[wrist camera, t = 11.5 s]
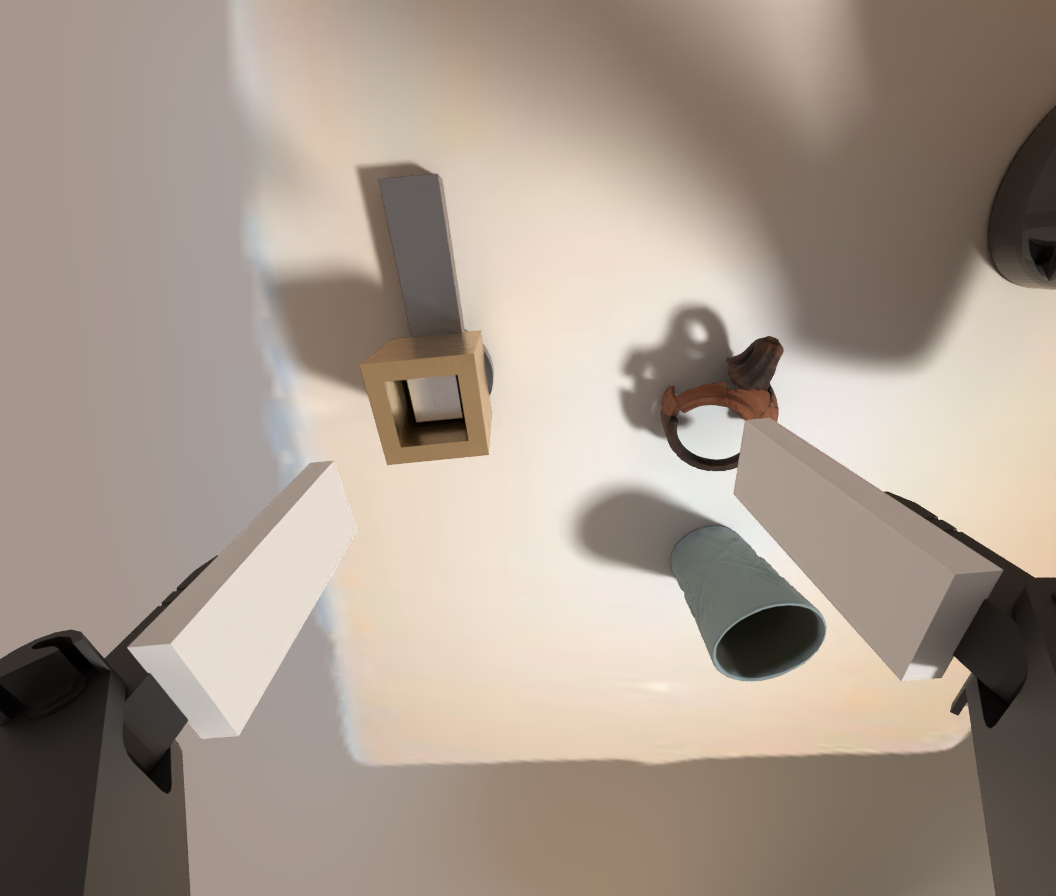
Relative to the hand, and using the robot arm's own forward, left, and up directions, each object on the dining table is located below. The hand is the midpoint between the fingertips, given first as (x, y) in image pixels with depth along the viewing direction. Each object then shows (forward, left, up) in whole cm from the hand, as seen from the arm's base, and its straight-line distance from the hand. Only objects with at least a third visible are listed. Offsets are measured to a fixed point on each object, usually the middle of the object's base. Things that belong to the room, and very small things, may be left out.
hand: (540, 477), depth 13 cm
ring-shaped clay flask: (-18, +7, -24) cm, 30 cm away
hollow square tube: (+6, +2, -21) cm, 22 cm away
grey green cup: (-20, +26, -23) cm, 40 cm away
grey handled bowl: (+6, -3, -23) cm, 24 cm away
